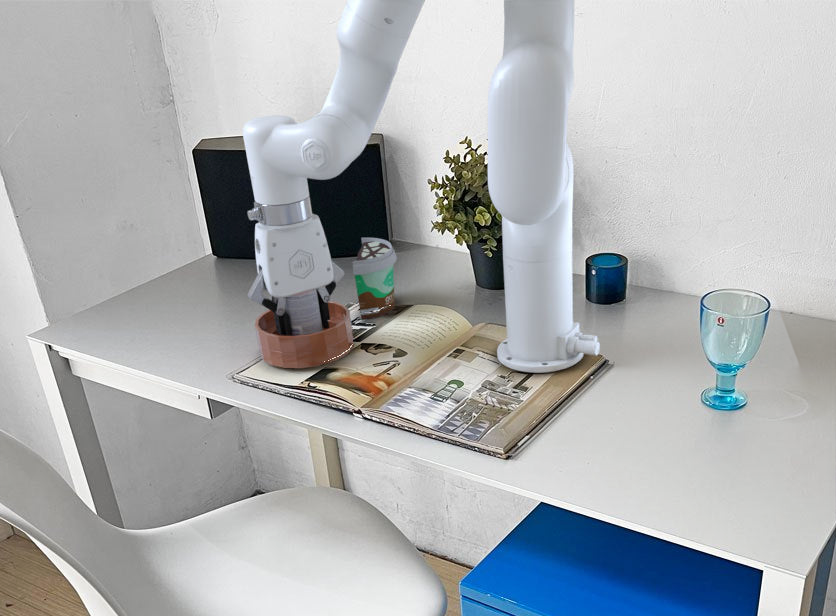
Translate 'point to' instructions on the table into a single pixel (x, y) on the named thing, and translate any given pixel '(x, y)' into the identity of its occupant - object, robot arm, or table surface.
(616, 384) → the table surface
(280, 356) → the bowl
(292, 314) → the energy drink
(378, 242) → the food container
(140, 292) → the table surface
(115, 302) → the table surface
